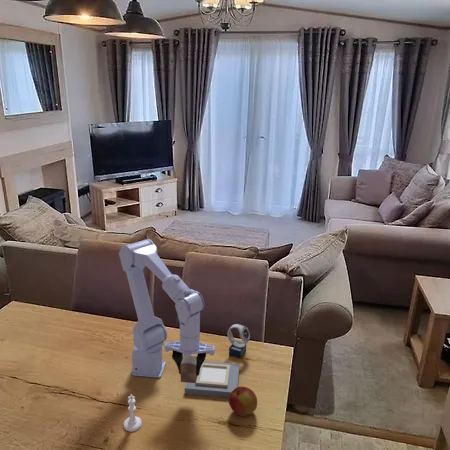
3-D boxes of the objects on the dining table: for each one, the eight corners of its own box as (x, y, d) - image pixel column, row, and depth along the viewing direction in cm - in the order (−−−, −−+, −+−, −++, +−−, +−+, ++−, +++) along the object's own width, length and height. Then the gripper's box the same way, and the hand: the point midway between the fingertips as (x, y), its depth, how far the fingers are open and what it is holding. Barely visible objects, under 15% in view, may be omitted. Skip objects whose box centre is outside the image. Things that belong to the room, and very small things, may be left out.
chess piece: (124, 418, 117) (123, 388, 114) (142, 417, 118) (141, 388, 114) (122, 432, 112) (120, 401, 109) (140, 431, 113) (139, 401, 110)
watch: (245, 360, 144) (246, 332, 141) (224, 354, 147) (225, 326, 144) (251, 351, 149) (252, 325, 146) (230, 345, 152) (231, 319, 149)
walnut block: (180, 381, 122) (180, 364, 120) (183, 372, 126) (183, 355, 124) (195, 383, 122) (195, 365, 120) (198, 373, 126) (198, 356, 124)
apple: (236, 399, 126) (237, 377, 123) (260, 409, 122) (262, 387, 119) (223, 415, 119) (224, 392, 117) (248, 426, 116) (250, 403, 113)
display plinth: (184, 393, 127) (184, 386, 126) (192, 365, 141) (192, 358, 140) (236, 398, 126) (236, 390, 125) (239, 369, 139) (239, 362, 139)
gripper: (161, 338, 116) (162, 379, 120) (213, 342, 115) (212, 383, 119) (167, 325, 123) (168, 364, 127) (216, 329, 122) (215, 368, 126)
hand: (189, 372), depth 123 cm, fingers closed on walnut block, 4 cm apart
